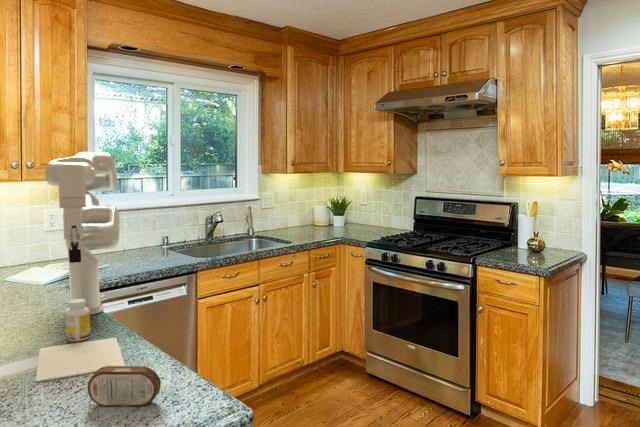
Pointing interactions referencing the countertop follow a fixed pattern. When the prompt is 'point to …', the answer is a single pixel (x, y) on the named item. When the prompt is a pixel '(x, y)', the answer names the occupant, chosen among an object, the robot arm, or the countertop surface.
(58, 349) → the mat
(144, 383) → the tin
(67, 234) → the robot arm
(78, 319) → the pill bottle
